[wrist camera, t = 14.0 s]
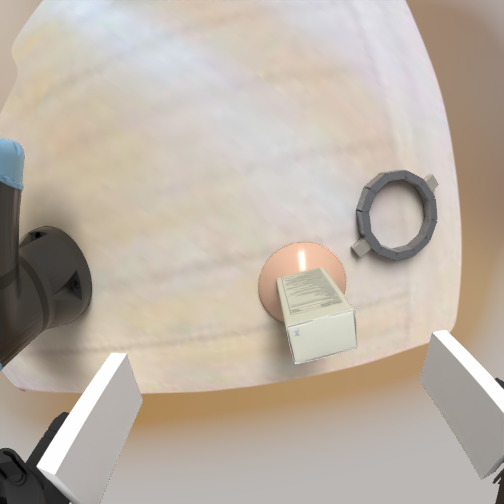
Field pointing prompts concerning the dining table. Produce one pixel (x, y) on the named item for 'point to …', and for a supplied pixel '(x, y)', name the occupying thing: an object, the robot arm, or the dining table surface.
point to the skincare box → (316, 316)
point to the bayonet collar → (363, 216)
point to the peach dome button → (296, 271)
